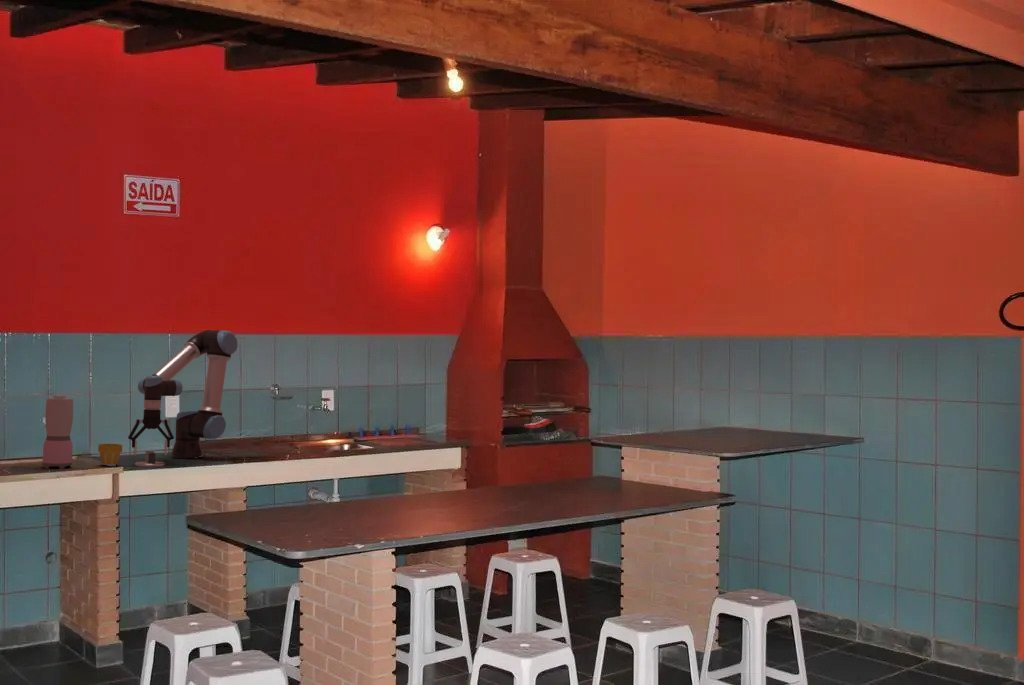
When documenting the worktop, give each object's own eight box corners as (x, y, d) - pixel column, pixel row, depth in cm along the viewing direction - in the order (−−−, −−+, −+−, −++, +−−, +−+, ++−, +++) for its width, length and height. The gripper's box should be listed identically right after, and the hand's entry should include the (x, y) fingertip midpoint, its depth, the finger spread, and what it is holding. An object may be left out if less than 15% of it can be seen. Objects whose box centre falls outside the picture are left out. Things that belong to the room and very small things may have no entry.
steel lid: (162, 463, 513) (162, 450, 513) (166, 466, 501) (167, 453, 501) (133, 464, 507) (134, 450, 507) (137, 467, 495) (137, 453, 495)
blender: (68, 469, 475) (71, 396, 475) (38, 468, 473) (41, 395, 473) (76, 465, 490) (79, 395, 491) (48, 464, 488) (51, 394, 489)
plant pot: (125, 465, 499) (126, 444, 499) (115, 467, 488) (116, 445, 488) (104, 464, 500) (104, 442, 500) (93, 466, 489) (94, 444, 489)
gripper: (125, 409, 495) (123, 455, 495) (181, 409, 506) (179, 455, 506) (123, 408, 502) (121, 453, 502) (178, 408, 513) (176, 453, 513)
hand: (150, 454), depth 504 cm, fingers open, 13 cm apart
